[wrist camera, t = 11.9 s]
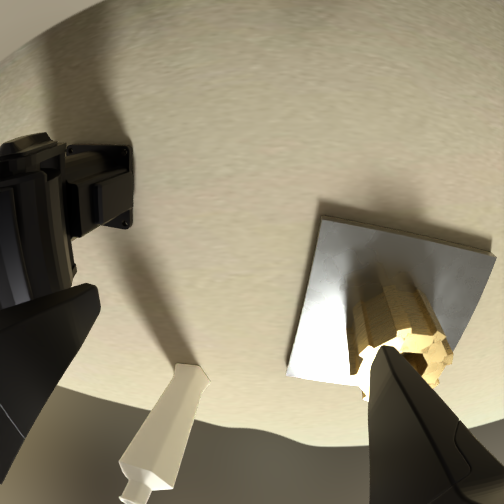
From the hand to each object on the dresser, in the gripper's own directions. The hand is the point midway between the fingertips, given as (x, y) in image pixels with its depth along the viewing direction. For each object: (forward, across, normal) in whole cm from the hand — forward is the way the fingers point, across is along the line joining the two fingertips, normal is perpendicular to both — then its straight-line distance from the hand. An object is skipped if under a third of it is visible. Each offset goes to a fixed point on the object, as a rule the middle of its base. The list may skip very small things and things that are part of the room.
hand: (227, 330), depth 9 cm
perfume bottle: (+13, +6, +18) cm, 23 cm away
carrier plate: (+13, -10, +7) cm, 18 cm away
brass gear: (+12, -10, +7) cm, 17 cm away
